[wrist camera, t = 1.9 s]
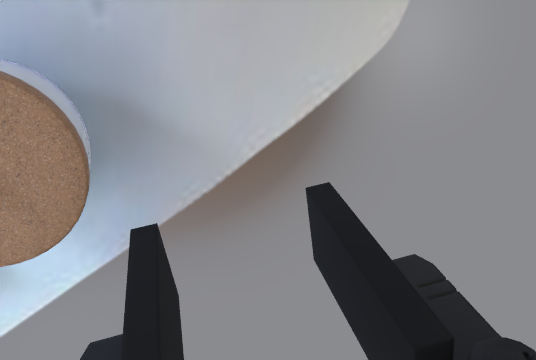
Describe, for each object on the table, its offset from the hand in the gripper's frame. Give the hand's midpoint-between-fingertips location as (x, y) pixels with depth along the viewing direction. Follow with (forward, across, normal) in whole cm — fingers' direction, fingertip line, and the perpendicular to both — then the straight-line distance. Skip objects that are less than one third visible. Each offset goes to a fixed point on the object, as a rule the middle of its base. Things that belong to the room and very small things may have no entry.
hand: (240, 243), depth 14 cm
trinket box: (+19, -12, 0) cm, 22 cm away
